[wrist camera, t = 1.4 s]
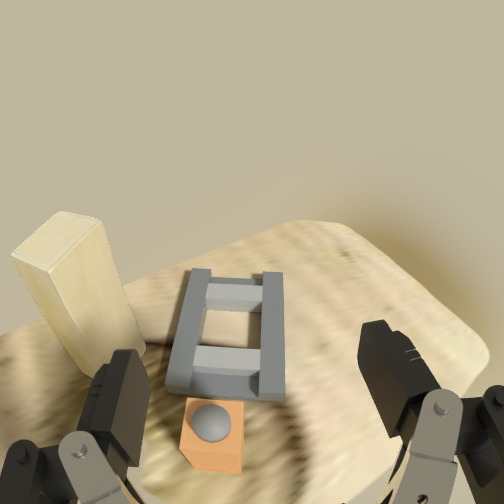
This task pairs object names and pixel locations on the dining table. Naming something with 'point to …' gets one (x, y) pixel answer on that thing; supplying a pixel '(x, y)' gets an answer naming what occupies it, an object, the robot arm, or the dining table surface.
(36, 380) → the dining table surface
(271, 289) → the frame
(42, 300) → the pale yellow tall block
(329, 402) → the dining table surface
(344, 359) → the dining table surface
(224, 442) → the orange block with knob
